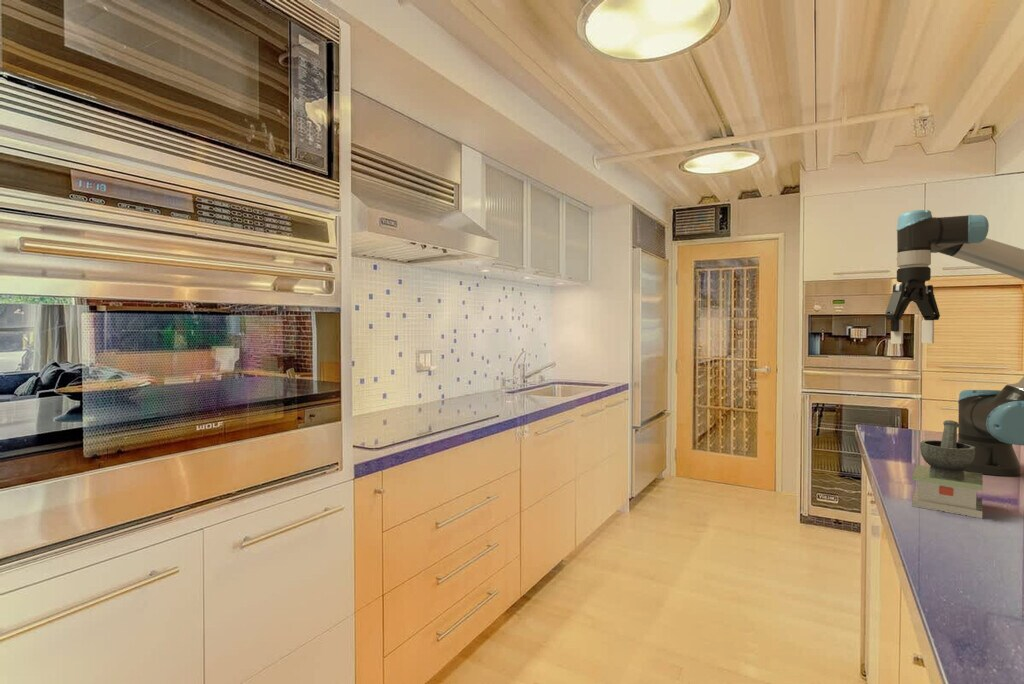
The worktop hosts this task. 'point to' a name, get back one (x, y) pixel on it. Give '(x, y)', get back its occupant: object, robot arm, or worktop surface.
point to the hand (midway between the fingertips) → (912, 343)
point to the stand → (948, 492)
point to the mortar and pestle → (947, 453)
